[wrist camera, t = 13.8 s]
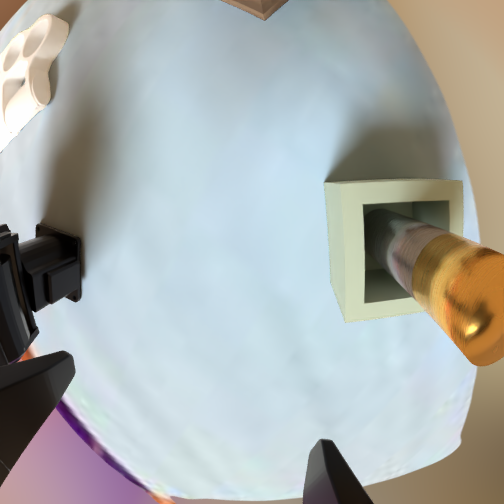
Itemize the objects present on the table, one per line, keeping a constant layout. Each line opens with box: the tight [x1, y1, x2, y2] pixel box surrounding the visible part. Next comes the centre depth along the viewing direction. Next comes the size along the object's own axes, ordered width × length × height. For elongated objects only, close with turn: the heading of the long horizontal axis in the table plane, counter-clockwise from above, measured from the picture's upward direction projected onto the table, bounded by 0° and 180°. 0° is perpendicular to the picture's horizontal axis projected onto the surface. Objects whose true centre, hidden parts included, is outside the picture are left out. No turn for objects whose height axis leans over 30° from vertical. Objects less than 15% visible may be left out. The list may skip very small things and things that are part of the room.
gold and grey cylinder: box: [363, 208, 504, 366], centre depth 11 cm, size 3×3×12 cm
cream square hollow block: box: [324, 178, 463, 323], centre depth 15 cm, size 7×7×6 cm
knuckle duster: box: [0, 14, 69, 152], centre depth 17 cm, size 3×18×15 cm
